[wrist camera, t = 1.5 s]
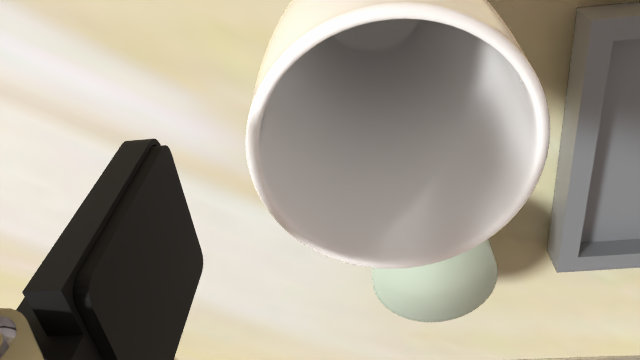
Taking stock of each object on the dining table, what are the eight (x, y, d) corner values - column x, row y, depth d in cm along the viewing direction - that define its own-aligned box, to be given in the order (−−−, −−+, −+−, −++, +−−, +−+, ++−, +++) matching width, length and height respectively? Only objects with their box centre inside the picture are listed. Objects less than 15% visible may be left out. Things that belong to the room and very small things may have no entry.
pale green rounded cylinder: (475, 254, 33) (494, 318, 29) (372, 261, 34) (376, 325, 29) (479, 167, 30) (500, 225, 26) (365, 176, 30) (367, 234, 26)
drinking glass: (480, -16, 25) (620, 160, 12) (366, 86, 28) (384, 314, 15) (375, -141, 22) (413, -83, 10) (262, -16, 25) (177, 155, 13)
